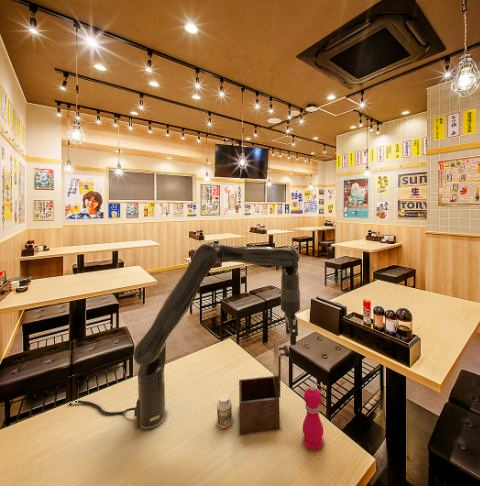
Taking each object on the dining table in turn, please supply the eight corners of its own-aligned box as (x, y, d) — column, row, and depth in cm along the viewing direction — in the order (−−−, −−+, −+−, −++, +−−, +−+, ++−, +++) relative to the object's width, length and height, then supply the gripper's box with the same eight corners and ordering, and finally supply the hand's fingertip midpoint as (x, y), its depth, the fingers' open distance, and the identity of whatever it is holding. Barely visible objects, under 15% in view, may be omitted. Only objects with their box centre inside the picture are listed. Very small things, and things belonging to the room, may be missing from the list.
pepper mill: (310, 455, 85) (309, 396, 84) (298, 437, 91) (298, 382, 90) (327, 445, 88) (327, 388, 87) (315, 429, 94) (314, 376, 94)
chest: (239, 434, 92) (239, 403, 92) (239, 407, 105) (239, 379, 105) (279, 429, 95) (279, 398, 94) (274, 403, 107) (274, 375, 107)
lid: (278, 356, 94) (292, 355, 94) (273, 338, 106) (285, 337, 107) (278, 397, 94) (291, 396, 95) (273, 374, 107) (285, 373, 107)
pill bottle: (219, 416, 101) (218, 392, 100) (232, 416, 101) (232, 392, 100) (216, 428, 95) (215, 402, 95) (230, 428, 95) (229, 402, 95)
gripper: (278, 292, 107) (278, 330, 107) (284, 305, 93) (284, 349, 93) (295, 291, 108) (296, 329, 108) (304, 304, 94) (304, 347, 94)
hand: (290, 338), depth 101 cm, fingers open, 8 cm apart
